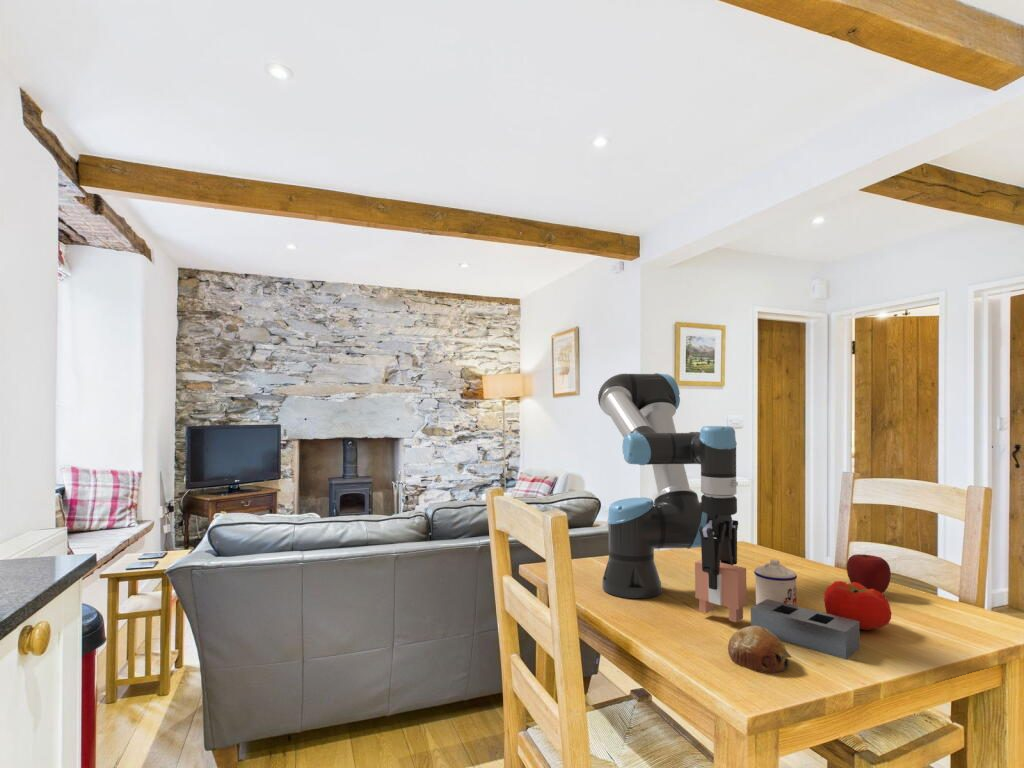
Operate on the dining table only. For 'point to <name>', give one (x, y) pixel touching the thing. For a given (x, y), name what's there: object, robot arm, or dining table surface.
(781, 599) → the teacup with lid
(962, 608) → the dining table surface
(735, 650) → the bread roll
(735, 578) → the chamfered pink post
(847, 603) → the tomato
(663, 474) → the robot arm
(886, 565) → the apple
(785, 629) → the grey rectangular block
